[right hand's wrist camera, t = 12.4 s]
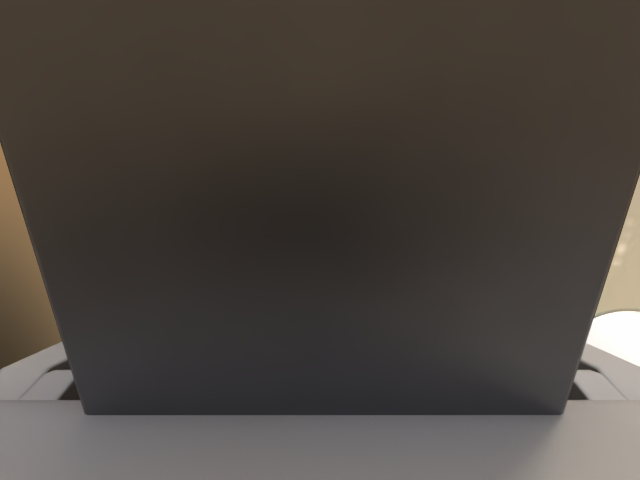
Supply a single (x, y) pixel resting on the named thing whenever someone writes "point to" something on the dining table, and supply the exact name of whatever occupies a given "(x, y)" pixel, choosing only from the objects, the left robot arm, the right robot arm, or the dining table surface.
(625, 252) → the dining table surface
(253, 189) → the bar
